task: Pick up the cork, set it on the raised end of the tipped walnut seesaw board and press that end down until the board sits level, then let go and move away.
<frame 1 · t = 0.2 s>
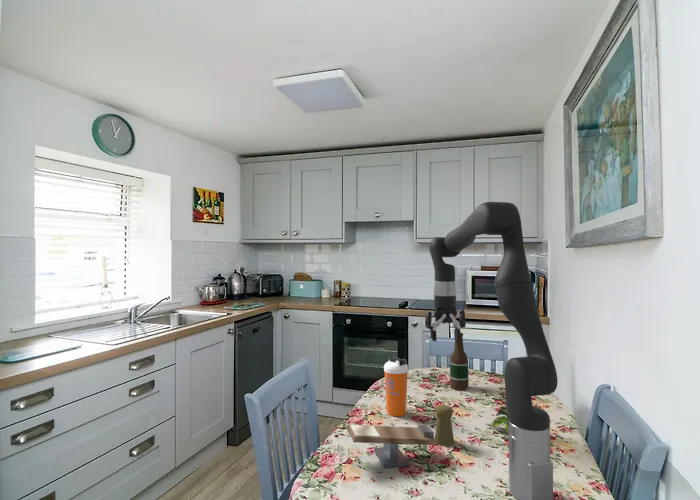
hand: (445, 340, 141), 28 cm above the table, tool pointing down, fingers open, 8 cm apart
beer bottle: (459, 388, 176), on the table
pivot stand: (390, 458, 116), on the table
passion flower: (513, 432, 133), on the table
seesaw board: (391, 432, 116), point 7 cm above the table, hinge at -8.0°
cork: (444, 442, 126), on the table
shaker bottle: (396, 413, 149), on the table
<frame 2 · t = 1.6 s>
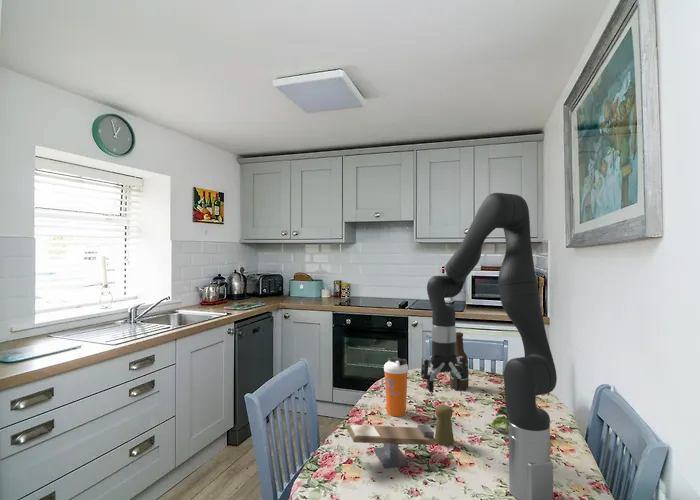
hand: (443, 390, 126), 16 cm above the table, tool pointing down, fingers open, 8 cm apart
nothing on the table moved.
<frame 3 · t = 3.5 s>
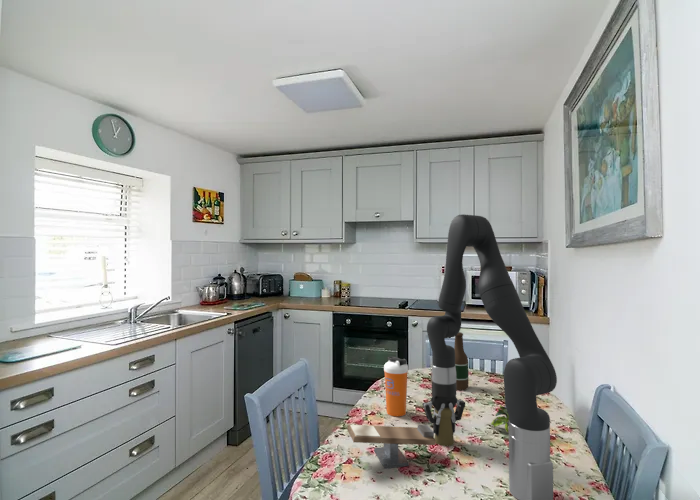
hand: (444, 434, 126), 2 cm above the table, tool pointing down, fingers closed on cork, 4 cm apart
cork: (444, 442, 126), on the table, touching gripper
everything else where it was.
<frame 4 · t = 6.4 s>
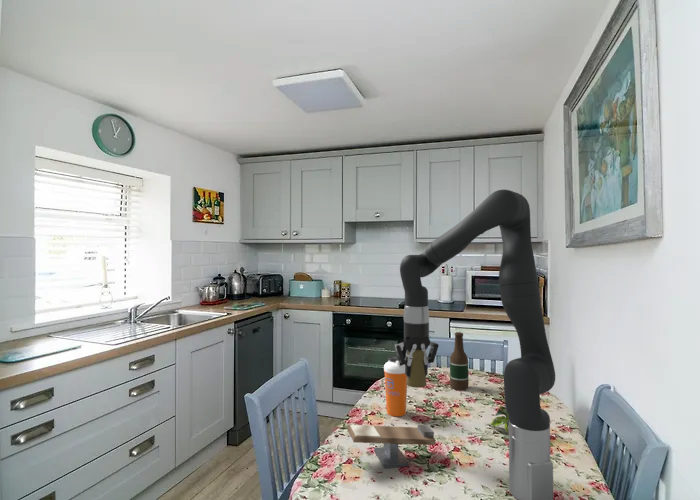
hand: (416, 376, 122), 21 cm above the table, tool pointing down, fingers closed on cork, 4 cm apart
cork: (416, 385, 122), point 19 cm above the table, touching gripper
everything else where it was.
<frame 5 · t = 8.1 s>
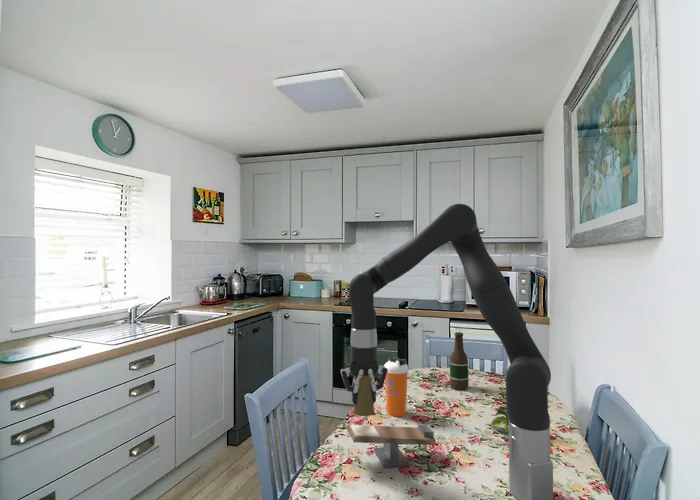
hand: (364, 404, 114), 16 cm above the table, tool pointing down, fingers closed on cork, 4 cm apart
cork: (363, 412, 114), point 14 cm above the table, touching gripper
everything else where it was.
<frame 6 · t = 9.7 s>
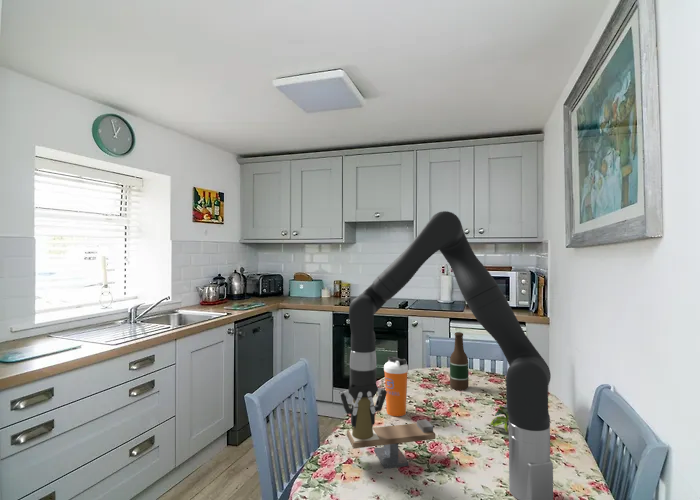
hand: (362, 426, 114), 10 cm above the table, tool pointing down, fingers closed on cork, 4 cm apart
seesaw board: (390, 432, 116), point 7 cm above the table, hinge at 0.1°, touching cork
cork: (362, 434, 114), point 8 cm above the table, touching gripper, seesaw board
everything else where it was.
when the fingers open (10 cm above the table, at t = 9.9 s): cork stays where it is, resting on seesaw board.
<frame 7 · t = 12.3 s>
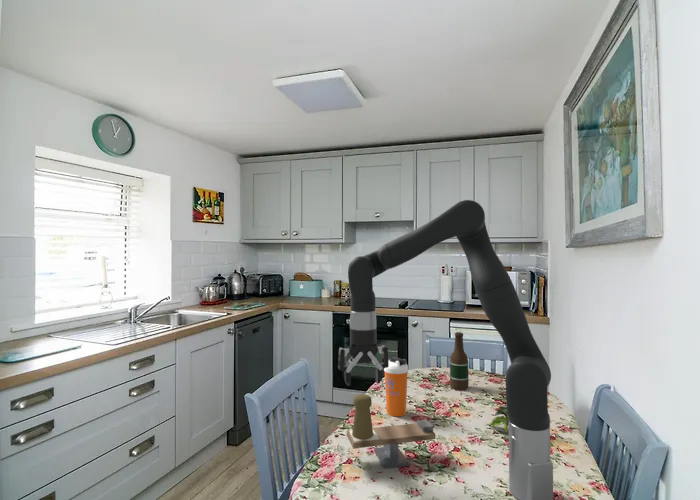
hand: (363, 383, 114), 22 cm above the table, tool pointing down, fingers open, 8 cm apart
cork: (362, 435, 114), point 7 cm above the table, touching seesaw board
everything else where it was.
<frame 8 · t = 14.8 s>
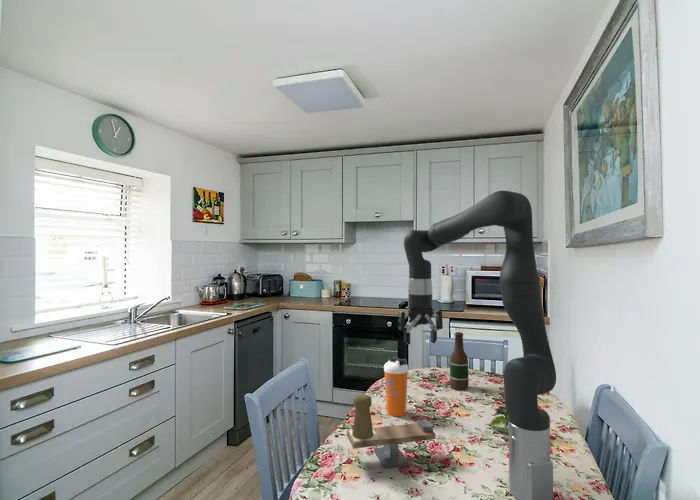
hand: (420, 343, 129), 30 cm above the table, tool pointing down, fingers open, 8 cm apart
nothing on the table moved.
at the end: seesaw board at +0° (first picture: -8°); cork inside the target area on the seesaw board (0.3 cm from its centre), point 1.5 cm above the seesaw board's base; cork tilted 0° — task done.
